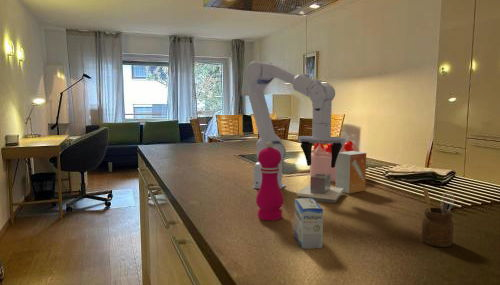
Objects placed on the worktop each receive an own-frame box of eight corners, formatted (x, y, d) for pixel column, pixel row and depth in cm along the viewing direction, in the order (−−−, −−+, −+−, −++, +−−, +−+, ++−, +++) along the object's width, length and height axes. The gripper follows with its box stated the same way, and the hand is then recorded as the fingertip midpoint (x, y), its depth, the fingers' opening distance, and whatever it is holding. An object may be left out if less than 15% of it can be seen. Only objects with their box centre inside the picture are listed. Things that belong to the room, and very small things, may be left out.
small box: (349, 194, 117) (350, 154, 115) (334, 190, 122) (335, 152, 121) (365, 190, 121) (366, 152, 120) (351, 187, 127) (351, 150, 125)
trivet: (296, 199, 111) (296, 193, 111) (307, 190, 122) (308, 184, 122) (335, 203, 106) (335, 197, 106) (343, 194, 117) (343, 188, 117)
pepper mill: (286, 214, 97) (286, 140, 95) (279, 222, 90) (279, 143, 88) (260, 211, 99) (260, 139, 97) (252, 219, 93) (251, 142, 90)
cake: (339, 185, 130) (340, 146, 128) (299, 176, 146) (299, 141, 144) (370, 177, 142) (371, 141, 141) (330, 170, 158) (330, 138, 156)
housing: (310, 192, 111) (310, 175, 110) (316, 187, 117) (316, 171, 117) (324, 194, 109) (325, 176, 109) (330, 189, 115) (330, 172, 115)
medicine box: (294, 235, 82) (294, 198, 81) (313, 234, 82) (313, 197, 81) (301, 249, 74) (302, 208, 73) (323, 248, 74) (323, 207, 73)
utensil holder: (459, 247, 74) (462, 190, 73) (429, 248, 74) (432, 191, 72) (441, 236, 80) (444, 183, 79) (414, 237, 80) (417, 184, 78)
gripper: (295, 123, 111) (294, 166, 113) (342, 124, 105) (341, 170, 106) (302, 122, 117) (301, 163, 119) (347, 123, 111) (346, 166, 113)
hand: (321, 166), depth 113 cm, fingers open, 7 cm apart
